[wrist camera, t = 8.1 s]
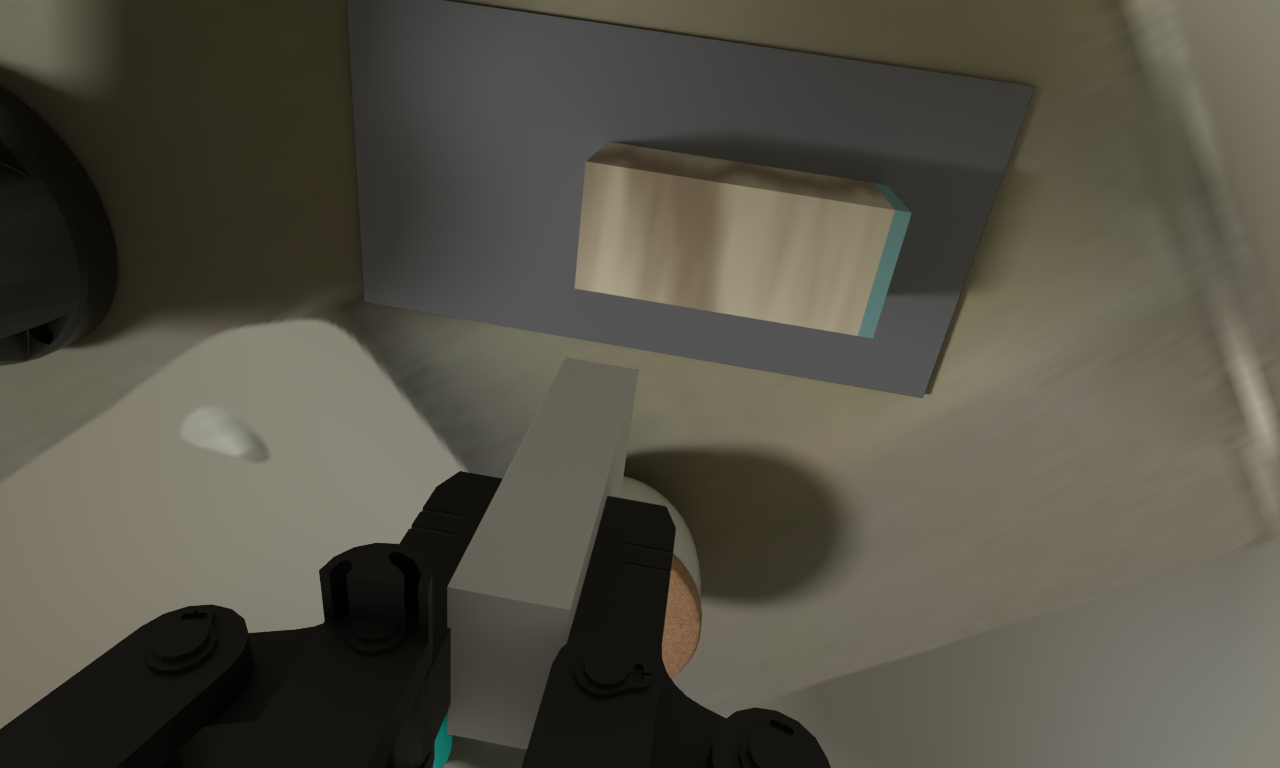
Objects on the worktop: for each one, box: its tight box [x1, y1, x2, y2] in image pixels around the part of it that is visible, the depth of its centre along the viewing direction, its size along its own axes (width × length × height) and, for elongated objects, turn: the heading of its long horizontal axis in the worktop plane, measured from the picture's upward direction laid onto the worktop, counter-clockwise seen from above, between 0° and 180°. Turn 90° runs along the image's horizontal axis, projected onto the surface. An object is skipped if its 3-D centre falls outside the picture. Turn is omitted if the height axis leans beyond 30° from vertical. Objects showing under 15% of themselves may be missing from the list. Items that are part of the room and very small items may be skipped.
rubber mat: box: [347, 0, 1035, 398], centre depth 32 cm, size 28×14×1 cm, turn 83°
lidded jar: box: [619, 476, 702, 678], centre depth 36 cm, size 11×11×9 cm
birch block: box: [575, 142, 911, 338], centre depth 29 cm, size 5×5×12 cm
